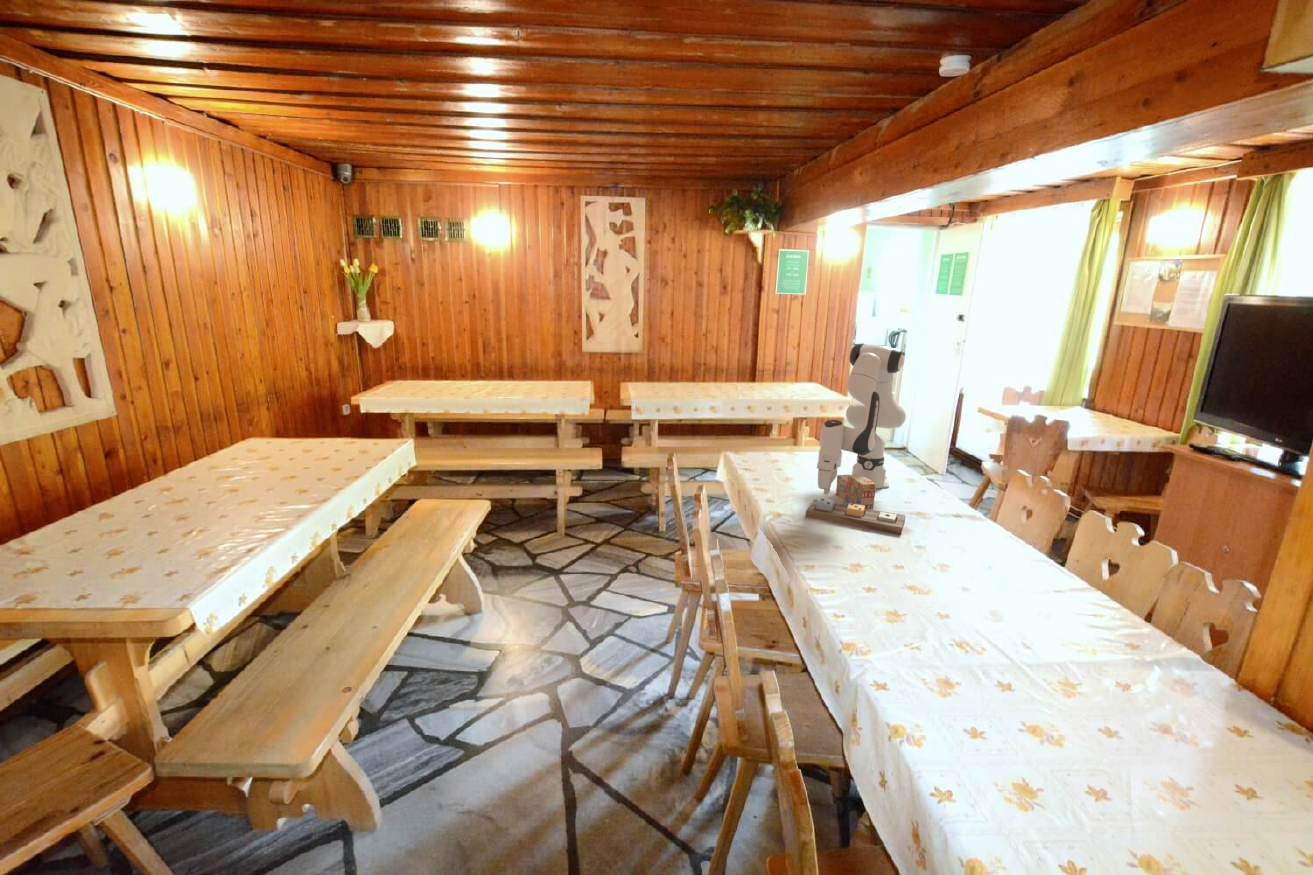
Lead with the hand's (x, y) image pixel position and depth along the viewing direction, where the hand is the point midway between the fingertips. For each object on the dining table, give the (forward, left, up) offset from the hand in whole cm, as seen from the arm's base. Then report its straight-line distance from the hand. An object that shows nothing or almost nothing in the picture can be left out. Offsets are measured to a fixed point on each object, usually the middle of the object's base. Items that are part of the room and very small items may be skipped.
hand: (826, 493), depth 236 cm
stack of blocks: (-21, +8, -10) cm, 24 cm away
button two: (0, 0, -8) cm, 8 cm away
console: (0, +12, -9) cm, 15 cm away
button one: (0, +24, -9) cm, 25 cm away
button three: (0, +12, -8) cm, 14 cm away
